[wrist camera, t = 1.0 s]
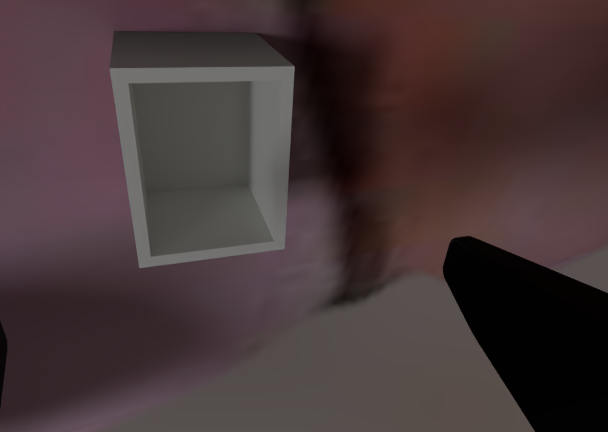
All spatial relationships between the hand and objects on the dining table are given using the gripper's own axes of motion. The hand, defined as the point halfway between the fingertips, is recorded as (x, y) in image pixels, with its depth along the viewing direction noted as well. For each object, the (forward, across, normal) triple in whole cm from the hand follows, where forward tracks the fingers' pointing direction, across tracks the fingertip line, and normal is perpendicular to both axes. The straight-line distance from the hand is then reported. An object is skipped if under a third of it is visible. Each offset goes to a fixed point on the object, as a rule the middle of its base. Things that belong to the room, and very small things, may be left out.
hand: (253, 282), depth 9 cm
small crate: (+11, 0, +1) cm, 11 cm away
